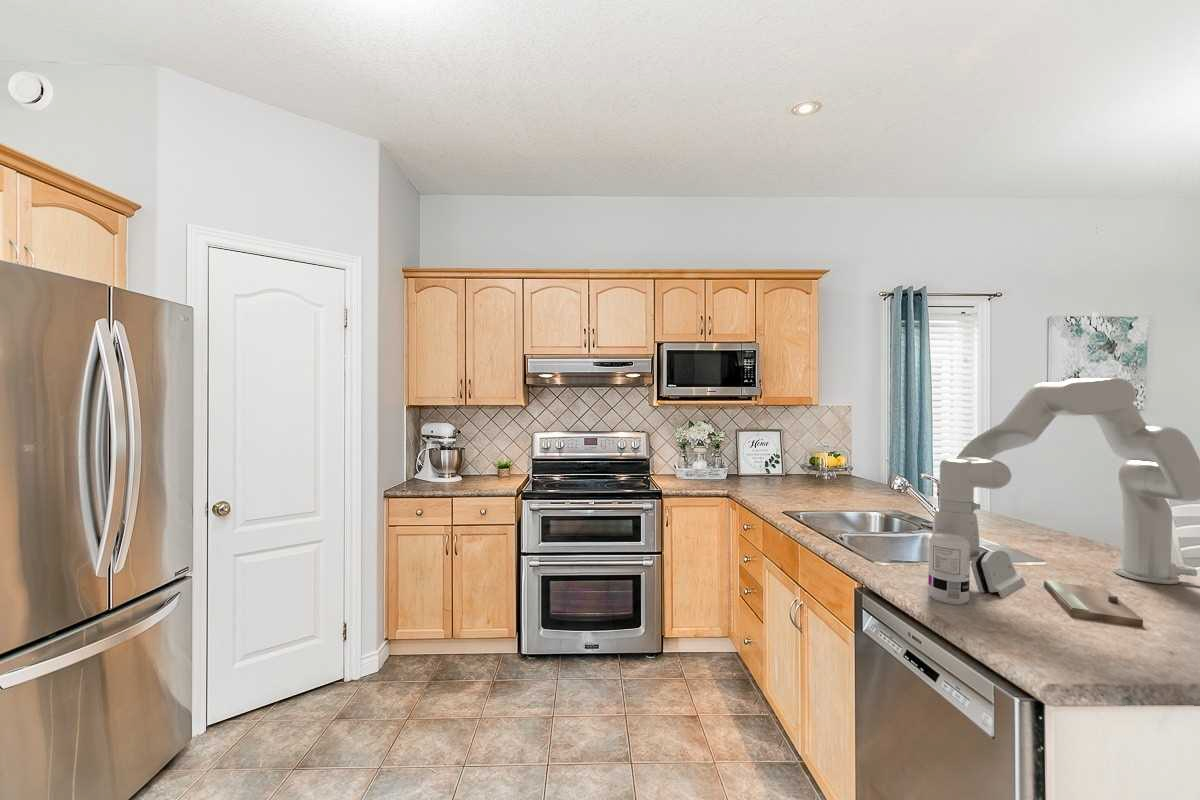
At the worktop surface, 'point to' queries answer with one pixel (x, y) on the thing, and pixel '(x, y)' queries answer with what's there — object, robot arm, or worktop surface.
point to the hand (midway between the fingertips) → (954, 576)
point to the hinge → (995, 573)
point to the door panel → (1092, 603)
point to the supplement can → (949, 568)
